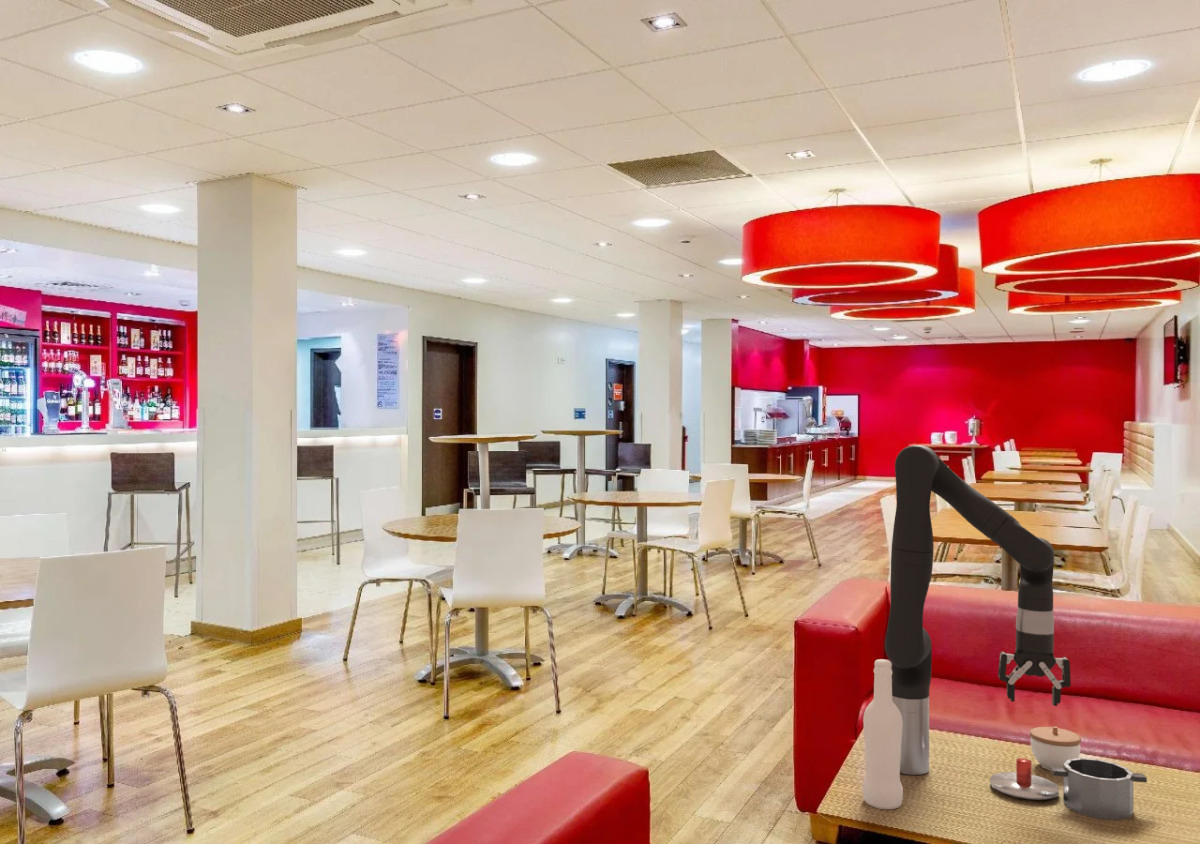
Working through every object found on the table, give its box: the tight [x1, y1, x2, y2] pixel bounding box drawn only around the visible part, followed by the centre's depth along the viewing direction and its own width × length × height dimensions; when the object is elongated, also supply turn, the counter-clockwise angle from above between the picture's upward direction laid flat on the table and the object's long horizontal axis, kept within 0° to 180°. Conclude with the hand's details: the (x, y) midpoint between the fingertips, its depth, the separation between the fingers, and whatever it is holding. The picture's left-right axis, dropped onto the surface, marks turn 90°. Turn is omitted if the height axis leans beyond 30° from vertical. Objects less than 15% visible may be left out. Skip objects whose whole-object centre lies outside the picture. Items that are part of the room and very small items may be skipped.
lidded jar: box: [1029, 726, 1082, 771], centre depth 214 cm, size 11×11×9 cm
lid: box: [989, 757, 1060, 801], centre depth 200 cm, size 14×14×7 cm
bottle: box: [862, 658, 904, 810], centre depth 193 cm, size 8×8×30 cm
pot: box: [1049, 757, 1148, 821], centre depth 192 cm, size 18×12×8 cm
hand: (1033, 702), depth 201 cm, fingers open, 8 cm apart
